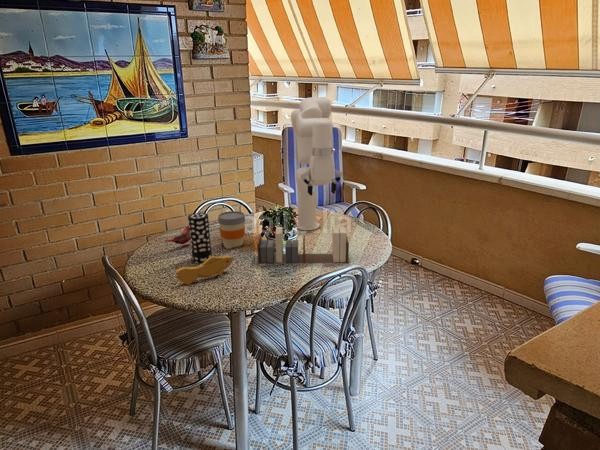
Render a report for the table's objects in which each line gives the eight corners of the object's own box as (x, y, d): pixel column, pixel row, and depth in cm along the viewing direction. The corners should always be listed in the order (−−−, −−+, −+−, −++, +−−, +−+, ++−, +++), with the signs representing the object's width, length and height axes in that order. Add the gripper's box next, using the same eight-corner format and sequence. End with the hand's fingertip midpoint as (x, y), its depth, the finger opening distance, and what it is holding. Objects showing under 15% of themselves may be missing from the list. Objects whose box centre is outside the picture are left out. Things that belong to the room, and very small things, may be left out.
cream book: (277, 254, 178) (276, 227, 174) (283, 254, 178) (282, 226, 174) (276, 262, 171) (275, 233, 166) (282, 262, 171) (281, 233, 166)
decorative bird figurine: (198, 242, 197) (196, 223, 194) (167, 254, 185) (164, 233, 181) (195, 241, 199) (193, 221, 196) (163, 252, 186) (161, 232, 183)
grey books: (262, 255, 179) (261, 240, 176) (298, 254, 178) (298, 239, 176) (260, 262, 171) (259, 247, 169) (298, 262, 170) (297, 247, 168)
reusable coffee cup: (229, 238, 201) (227, 209, 196) (251, 242, 196) (250, 212, 191) (214, 248, 190) (212, 217, 185) (237, 252, 185) (235, 220, 180)
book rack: (260, 256, 180) (259, 235, 177) (346, 255, 178) (347, 234, 175) (257, 265, 170) (256, 243, 167) (348, 265, 169) (349, 243, 165)
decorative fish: (233, 267, 166) (226, 246, 162) (236, 270, 164) (229, 249, 159) (182, 291, 159) (173, 270, 154) (184, 294, 156) (175, 273, 152)
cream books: (332, 254, 177) (332, 226, 173) (344, 254, 177) (344, 226, 173) (333, 262, 170) (333, 233, 165) (345, 262, 169) (346, 233, 165)
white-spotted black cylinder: (215, 257, 180) (211, 214, 173) (204, 264, 173) (200, 220, 166) (200, 254, 184) (196, 212, 177) (188, 261, 176) (183, 217, 170)
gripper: (339, 149, 167) (338, 190, 173) (298, 152, 164) (299, 193, 170) (345, 152, 160) (344, 194, 166) (303, 154, 157) (303, 197, 163)
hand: (321, 193), depth 168 cm, fingers open, 9 cm apart
